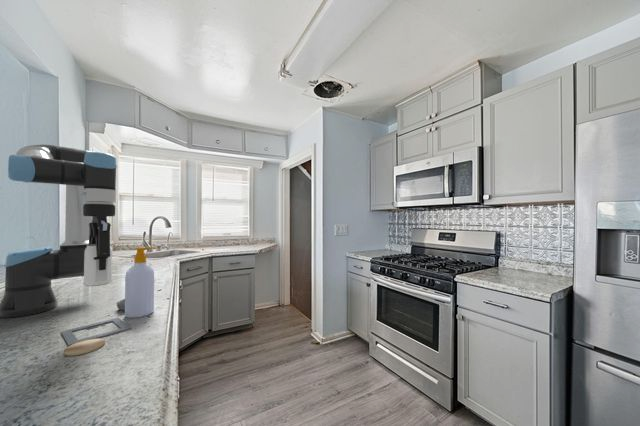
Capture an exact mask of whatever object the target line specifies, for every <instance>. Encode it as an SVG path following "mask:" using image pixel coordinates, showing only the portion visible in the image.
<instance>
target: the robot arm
mask: <svg viewBox="0 0 640 426" xmlns="http://www.w3.org/2000/svg"><path fill="white" fill-rule="evenodd" d="M7 165H8V167H7V177H8V179H9V180H10V181H13V182H23V183H27V184H29V183H35V184H38V183H39V184H51V185H65V221H64V223H65V232H64V241H63V242H62V243H61V244H59V249H55V250H54V249H53V248H52V246H44V247H36V248H29V249H23V250H18V251H13V252H10V253H8V255H7V256H6V258H5V259H6V260H5V265H4V268H5V283H4V295H3V296H2V299H1V300H0V318H1V319H6V318H7V319H8V318H9V319H10V318H19V317H24V316H25V317H26V316H31V315H36V314H38V313H45V312H47V311H50V310H52V309H55V308H56V307H57V306H58V299H57V296H56V294H55V292H54V289H53V288H52V280H54V281H55V280H60V279H61V280H62V279H68V278H69V279H70V278H77V277H78V278H79V277H82V278H84V253H85V249H86V248H87V245H90V244H96V253H97V257H94V258H93V259H94V260H95V282H99V281H105V280H107V271H108V257H110V246H111V245H110V244H111V223H110V222H108V217H115V216H116V205H115V203H116V202H117V198H116V197H117V190H116V183H117V182H116V180H117V168H118V165H117V158H116V156H115V155H113V154H110V153H108V152H107V153H106V152H101V151H91V150H86V149H81V148H80V149H79V148H72V147H65V146H61V145H59V146H58V145H53V144H32V145H27V146H24V147H21V148H19V150H17V152H16V154H11V155H9V156H8V163H7Z"/></svg>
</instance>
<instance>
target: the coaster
mask: <svg viewBox="0 0 640 426" xmlns="http://www.w3.org/2000/svg"><path fill="white" fill-rule="evenodd" d="M105 343H106V341H105V339H103V338H98V339H90V340H85V341H81V342H78V343H75V344H73V345H71V346H67V347H65V349H63V355H64V356H65V357H67V356H68V357H69V356H70V357H73V356H80V355H81V356H82V355H84V354H88V353H91V352H94V351H96V350H99V349H101V348H102V347H103V346H105Z"/></svg>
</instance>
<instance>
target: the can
mask: <svg viewBox="0 0 640 426" xmlns="http://www.w3.org/2000/svg"><path fill="white" fill-rule="evenodd" d="M94 257H97V253H96V244H90V245H87V248H86V249H85V253H84V276H83V286H85V287H99V286H105V285H108V284H110V283H112V279H113V247H112V244H111V243H110V257H108V271H107V280H105V281H99V282H95V260H94V259H93V258H94Z"/></svg>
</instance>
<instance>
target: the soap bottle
mask: <svg viewBox="0 0 640 426" xmlns="http://www.w3.org/2000/svg"><path fill="white" fill-rule="evenodd" d="M151 249H153V250H156V249H157V247H154V246H152V247H151V246H150V247H148V246H147V247H136V254H135V255H134V263H133V265H131V266H130V267H129V268H128V269H127V271H126V273H125V277H124V281H125V282H124V283H125V284H124V285H125V286H124V299H125V311H124V316H125V317H126V318H130V319H132V318H134V319H135V318H140V317H145V316H149V315H150V314H152V313H153V312H154V310H155V270H154V268H153V267H152V266H151V265H150V264H148V263H147V255H146V254H145V250H151Z"/></svg>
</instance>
